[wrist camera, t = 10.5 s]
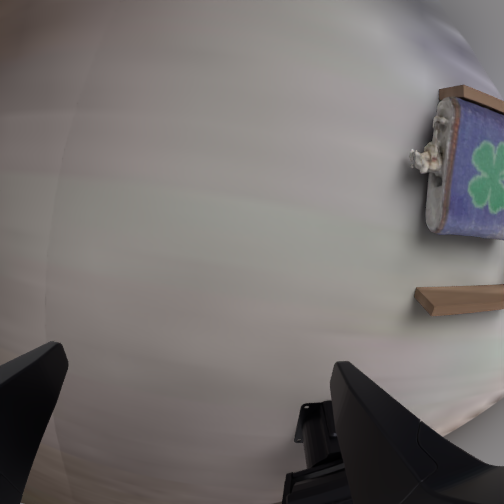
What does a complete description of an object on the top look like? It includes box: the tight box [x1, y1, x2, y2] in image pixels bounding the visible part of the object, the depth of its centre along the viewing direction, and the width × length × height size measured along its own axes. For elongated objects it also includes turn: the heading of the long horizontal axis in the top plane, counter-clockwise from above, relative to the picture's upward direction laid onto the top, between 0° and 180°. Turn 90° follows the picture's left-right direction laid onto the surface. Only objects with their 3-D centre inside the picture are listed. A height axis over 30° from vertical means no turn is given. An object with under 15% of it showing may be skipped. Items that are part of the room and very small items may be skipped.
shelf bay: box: [414, 85, 504, 316], centre depth 17 cm, size 16×12×3 cm
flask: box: [409, 96, 504, 240], centre depth 16 cm, size 9×3×11 cm
